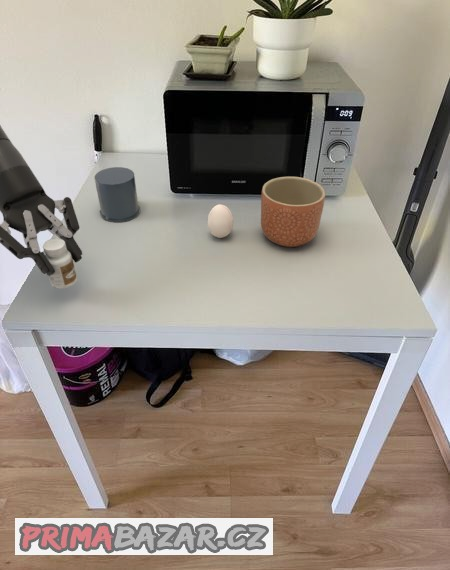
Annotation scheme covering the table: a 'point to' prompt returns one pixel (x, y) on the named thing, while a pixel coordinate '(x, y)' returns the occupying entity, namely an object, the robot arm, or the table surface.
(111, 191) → the cup
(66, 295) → the table surface
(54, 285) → the pill bottle
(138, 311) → the table surface
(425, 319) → the table surface
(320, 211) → the planter
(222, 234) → the egg
